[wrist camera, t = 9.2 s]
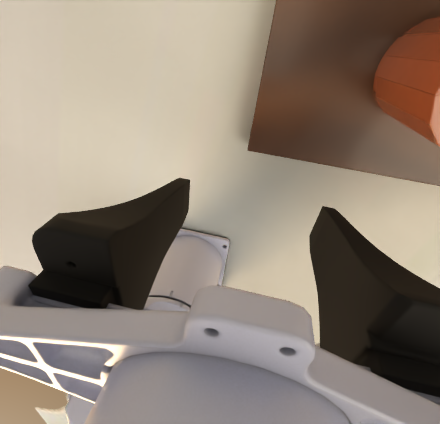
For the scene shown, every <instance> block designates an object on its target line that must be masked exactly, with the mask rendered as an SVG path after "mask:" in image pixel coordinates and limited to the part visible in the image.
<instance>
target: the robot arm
mask: <svg viewBox="0 0 440 424" xmlns="http://www.w3.org/2000/svg"><path fill="white" fill-rule="evenodd" d="M189 190H190V180H188V179H183V178H178V179H176V180H174V181H172V182H170V183H168V184H166V185H165V186H163V187H161V188H159V189H157V190H155V191H153V192H150V193H148V194H146V195H144V196H142V197H139V198H137V199H134V200H131V201H128V202H125V203H121V204H117V205H114V206H110V207H105V208H100V209H95V210H88V211H81V212H70V213H58V214H57V215H56V216H54V217H53V218H52V219H51V220H49V221H48V222H47V223H46V224H44V225H43V226H42V227H40V228H39V229H38V230H37V231H35V233H34V234H33V238H32V243H33V247H34V250H35V252H36V254H37V257H38V259H39V261H40V263H41V265H42V268H43V271H42V272H41V273H40V274H39V275H38V276H36V275H35V274H33V273H32V272H29V271H26V270H22V269H18V268H13V267H9V266H3V267H2V268H1V269H0V368H3V369H6V370H9V371H12V372H15V373H18V374H21V375H23V376H26V377H28V378H31V379H34V380H36V381H39V382H41V383H44V384H46V385H49V386H52V387H54V388H57V389H59V390H62V391H64V392H67V393H69V394H68V396H67V400H68V403H67V405H66V407H65V411H66V416H67V419H68V422H69V424H440V288H438V287H436V286H434V285H432V284H430V283H429V282H427V281H425V280H423V279H422V278H420V277H418V276H416V275H415V274H413V273H411V272H410V271H408V270H407V269H405V268H404V267H402V266H401V265H399V264H398V263H396V262H395V261H393V260H392V259H391V258H389V257H388V256H387V255H385V254H384V253H383V252H381V251H380V250H379V249H377V248H376V247H375V246H374V245H373V244H372V243H370V242H369V241H368V240H367V239H366V238H365V237H364V236H363V235H361V234H360V233H359V232H358V231H357V230H356V229H355V228H354V227H353V226H352V225H351V224H350V223H349V222H348V221H347V220H346V219H345V218H344V217H343V216H342V215H341V214H340V213H339V212H338V211H337V210H336V209H334V208H329V207H324V206H323V207H322V209H321V211H320V213H319V216H318V218H317V220H316V222H315V225H314V227H313V229H312V231H311V234H310V254H311V260H312V265H313V270H314V275H315V280H316V285H317V292H318V303H319V321H320V347H318V346H316V345H315V342H314V335H313V327H312V319H311V316H310V315H309V313H308V312H307V311H306V310H305V309H304V308H303V307H301V306H299V305H297V304H295V303H292V302H290V301H286V300H282V299H278V298H274V297H269V296H265V295H261V294H256V293H252V292H248V291H243V290H239V289H235V288H231V287H226V286H221V285H222V280H223V275H224V270H225V265H226V260H227V254H228V249H229V244H230V241H229V240H228V239H227V238H222V237H218V236H213V235H209V234H204V233H199V232H195V231H190V230H185V229H181V227H182V225H183V223H184V221H185V218H186V215H187V213H188V209H189ZM224 245H226V246H224Z"/></svg>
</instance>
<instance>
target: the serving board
mask: <svg viewBox="0 0 440 424" xmlns="http://www.w3.org/2000/svg"><path fill="white" fill-rule="evenodd" d="M439 15H440V0H276V5H275V10H274V15H273V20H272V26H271V31H270V36H269V41H268V46H267V52H266V57H265V62H264V67H263V72H262V77H261V83H260V88H259V93H258V98H257V103H256V108H255V114H254V119H253V124H252V129H251V134H250V139H249V145H248V151H254V152H259V153H264V154H270V155H275V156H281V157H286V158H291V159H297V160H302V161H308V162H313V163H318V164H324V165H329V166H335V167H340V168H346V169H351V170H356V171H362V172H367V173H373V174H378V175H383V176H389V177H394V178H400V179H405V180H410V181H416V182H421V183H427V184H432V185H437V186H440V148H438V147H437V146H435V145H434V144H432V143H430V142H429V141H427V140H426V139H424V138H422V137H421V136H419V135H418V134H416V133H415V132H413V131H411V130H410V129H408V128H407V127H405V126H403V125H402V124H400V123H399V122H397V121H396V120H394V119H393V118H391V117H390V116H389V115H387V114H385V113H384V112H383V111H382V110H381V109H380V107H379V106H378V104H377V102H376V100H375V97H374V91H373V84H374V77H375V73H376V70H377V68H378V65H379V63H380V61H381V59H382V57H383V56H384V54H385V53H386V51H387V50H388V49H389V47H390V46H391V45H392V44H393V43H394V41H395V40H396V39H397V38H398V37H400V36H401V35H402V34H403V33H404V32H406V31H407V30H408V29H409V28H411V27H413V26H414V25H416V24H417V23H420V22H422V21H424V20H426V19H429V18H431V17H435V16H439Z"/></svg>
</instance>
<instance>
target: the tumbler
mask: <svg viewBox="0 0 440 424" xmlns="http://www.w3.org/2000/svg"><path fill="white" fill-rule="evenodd" d="M373 91H374V97H375V100H376V102H377V104H378V106H379V107H380V109H381V110H382V111H383V112H384V113H385V114H387V115H389V116H390V117H391V118H393V119H394V120H396V121H397V122H399V123H400V124H402V125H403V126H405V127H407V128H408V129H410V130H411V131H413V132H415V133H416V134H418V135H419V136H421V137H422V138H424V139H426V140H427V141H429V142H430V143H432V144H434V145H435V146H437V147H438V148H440V15H439V16H435V17H431V18H429V19H426V20H424V21H422V22H420V23H417V24H416V25H414V26H413V27H411V28H409V29H408V30H407V31H406V32H404V33H403V34H402V35H401V36H400V37H398V38H397V39H396V40H395V41H394V43H393V44H392V45H391V46H390V47H389V49H388V50H387V51H386V53H385V54H384V56H383V57H382V59H381V61H380V63H379V65H378V68H377V70H376V73H375V77H374V84H373Z"/></svg>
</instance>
